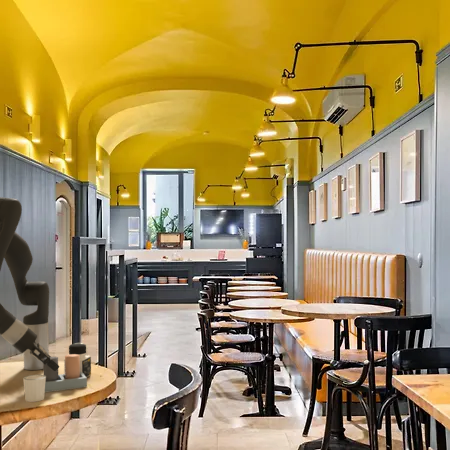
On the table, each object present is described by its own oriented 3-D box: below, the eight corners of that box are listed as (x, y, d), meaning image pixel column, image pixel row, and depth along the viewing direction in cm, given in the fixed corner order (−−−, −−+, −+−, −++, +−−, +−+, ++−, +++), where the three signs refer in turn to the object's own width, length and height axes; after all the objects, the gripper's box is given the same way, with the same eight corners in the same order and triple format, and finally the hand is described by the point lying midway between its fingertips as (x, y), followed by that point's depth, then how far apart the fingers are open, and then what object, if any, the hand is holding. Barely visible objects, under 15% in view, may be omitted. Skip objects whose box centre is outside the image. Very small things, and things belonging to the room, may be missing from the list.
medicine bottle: (82, 380, 204) (82, 346, 204) (64, 379, 206) (63, 345, 206) (91, 374, 211) (90, 342, 211) (73, 374, 212) (72, 341, 213)
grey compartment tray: (37, 385, 197) (37, 356, 197) (82, 380, 203) (81, 352, 203) (40, 392, 189) (40, 362, 189) (87, 386, 195) (86, 357, 195)
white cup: (50, 396, 184) (50, 374, 184) (37, 403, 178) (37, 380, 178) (32, 395, 186) (32, 373, 187) (18, 401, 180) (18, 378, 180)
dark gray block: (42, 386, 196) (42, 357, 196) (57, 385, 198) (57, 356, 198) (44, 390, 192) (44, 360, 192) (59, 388, 194) (59, 358, 194)
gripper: (29, 330, 185) (66, 361, 190) (25, 323, 198) (60, 353, 203) (12, 348, 183) (50, 380, 188) (9, 340, 196) (45, 370, 201)
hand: (55, 366), depth 195 cm, fingers open, 8 cm apart
